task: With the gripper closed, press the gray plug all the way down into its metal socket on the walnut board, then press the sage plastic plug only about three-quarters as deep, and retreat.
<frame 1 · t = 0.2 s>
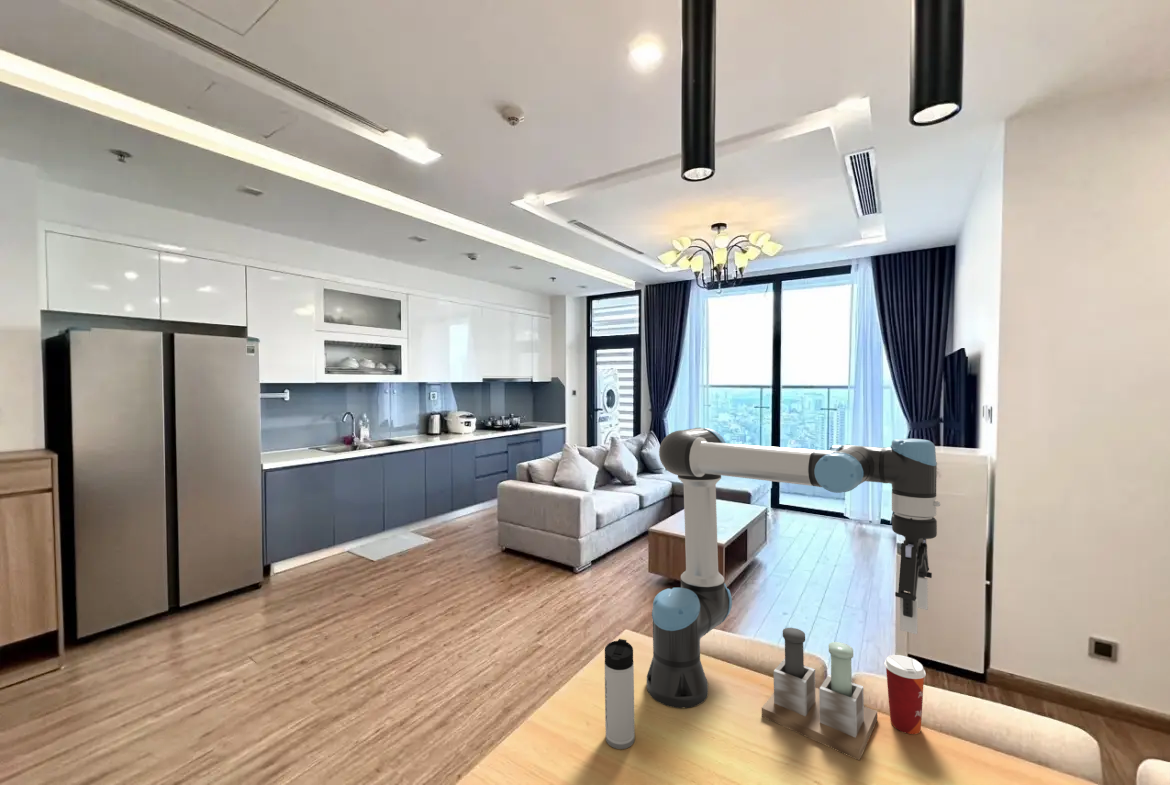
hand: (914, 619, 98), 28 cm above the table, fingers open, 13 cm apart
gray plug: (794, 656, 112), point 13 cm above the table, slide at 0.0 cm
socket board: (819, 718, 109), on the table
paper cup: (905, 726, 107), on the table
travel mug: (620, 739, 104), on the table
sage plug: (841, 673, 105), point 13 cm above the table, slide at 0.0 cm
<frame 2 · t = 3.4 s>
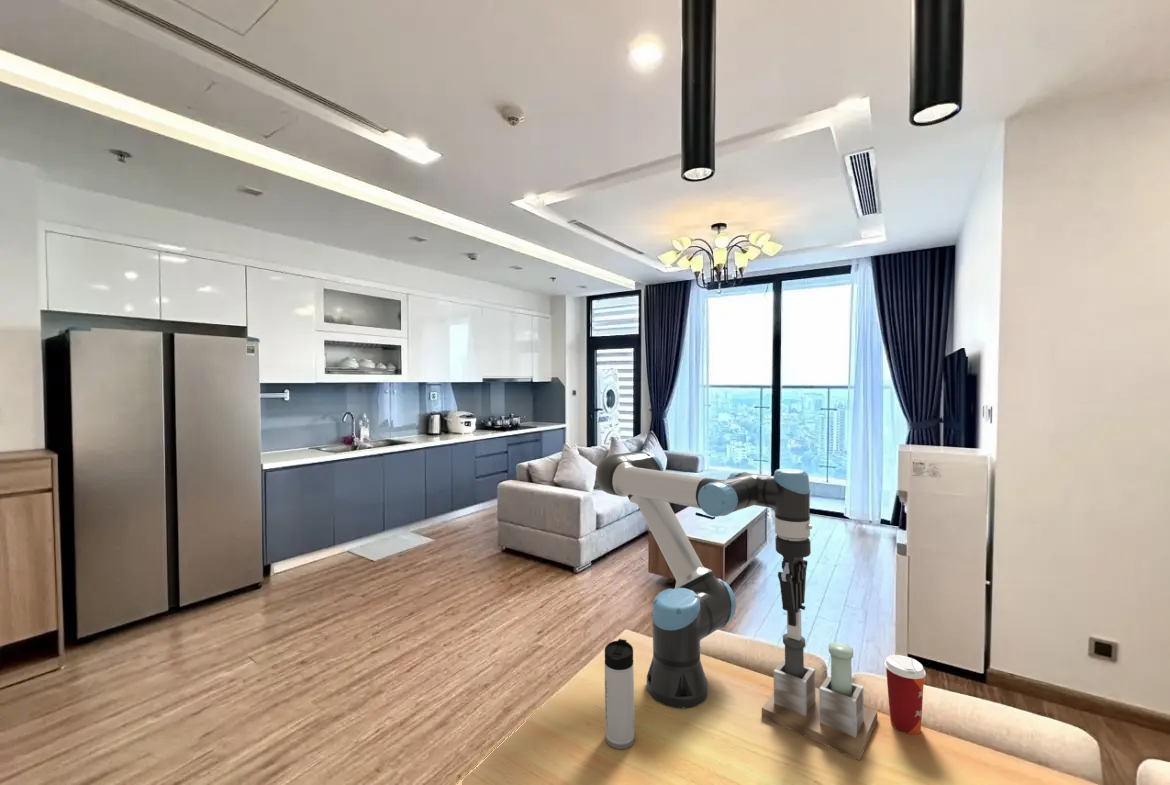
hand: (794, 637, 112), 17 cm above the table, fingers closed
gray plug: (794, 662, 112), point 11 cm above the table, slide at 1.3 cm, touching gripper
everything else where it was.
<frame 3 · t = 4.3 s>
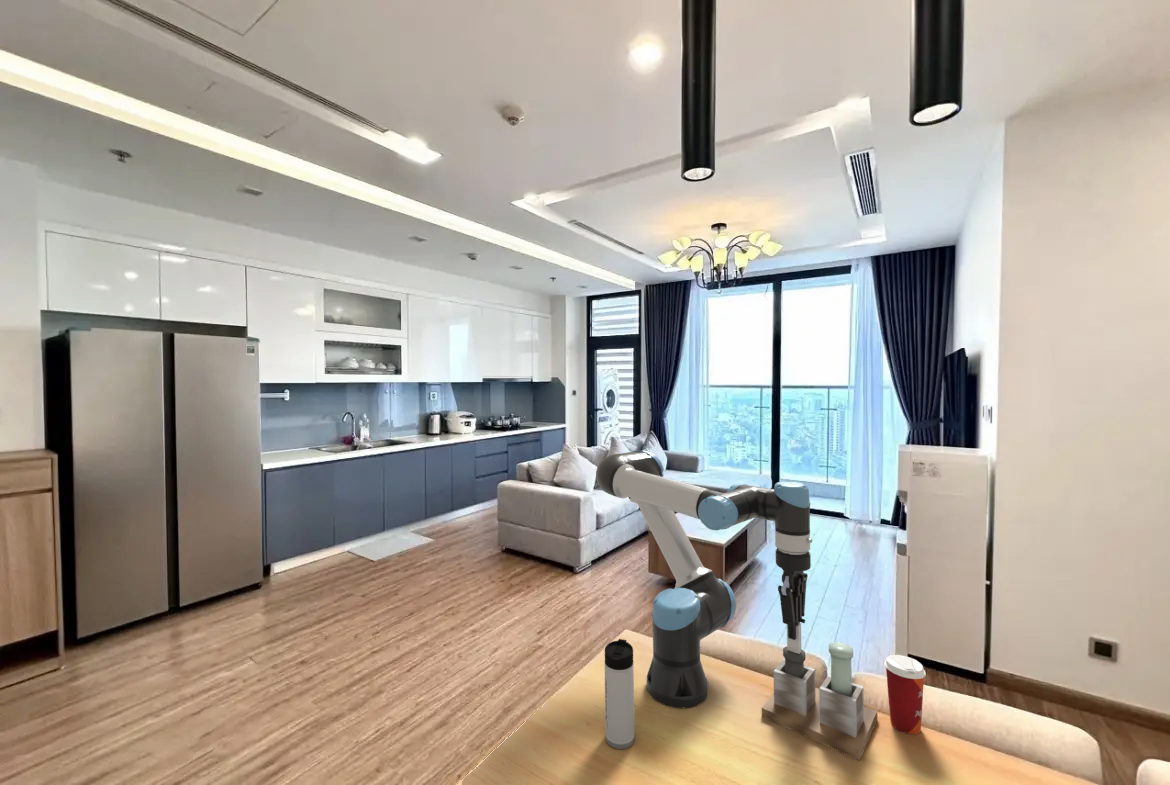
hand: (794, 650, 112), 14 cm above the table, fingers closed
gray plug: (794, 675, 112), point 8 cm above the table, slide at 4.4 cm, touching gripper
everything else where it was.
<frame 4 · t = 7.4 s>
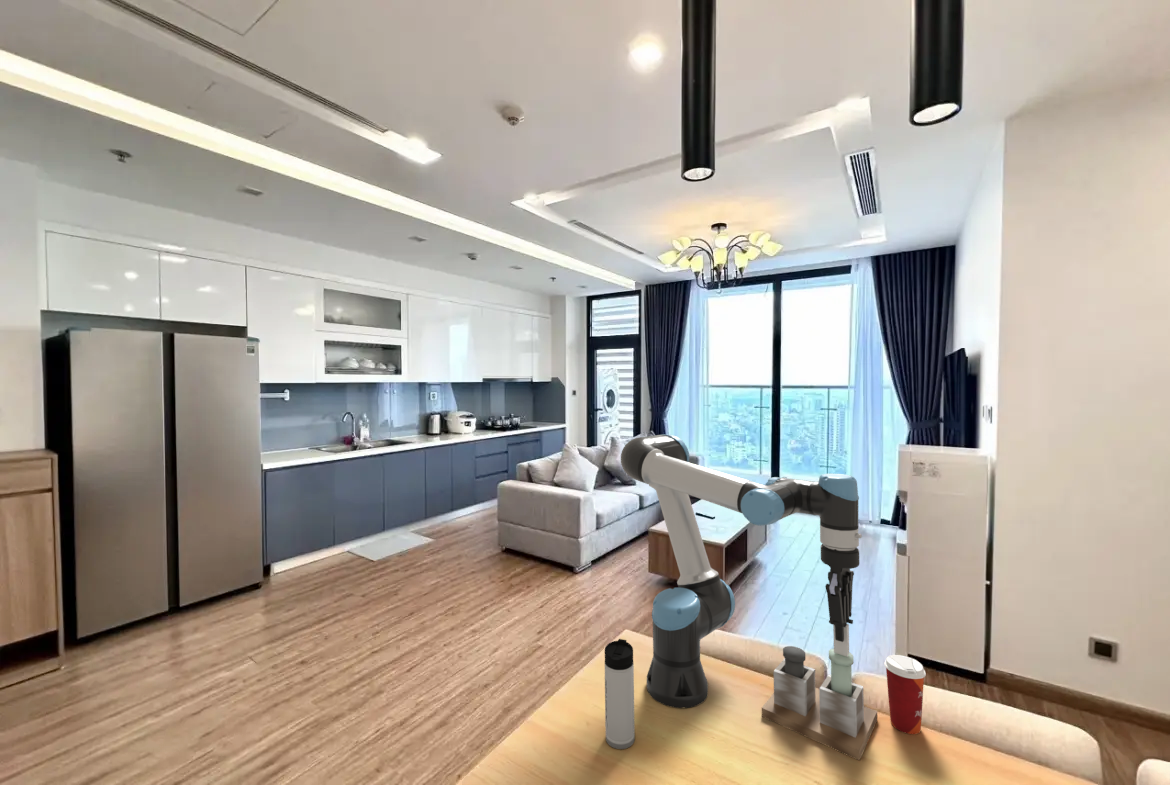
hand: (841, 653, 105), 17 cm above the table, fingers closed
gray plug: (794, 675, 112), point 8 cm above the table, slide at 4.4 cm
sage plug: (841, 679, 105), point 11 cm above the table, slide at 1.4 cm, touching gripper
everything else where it was.
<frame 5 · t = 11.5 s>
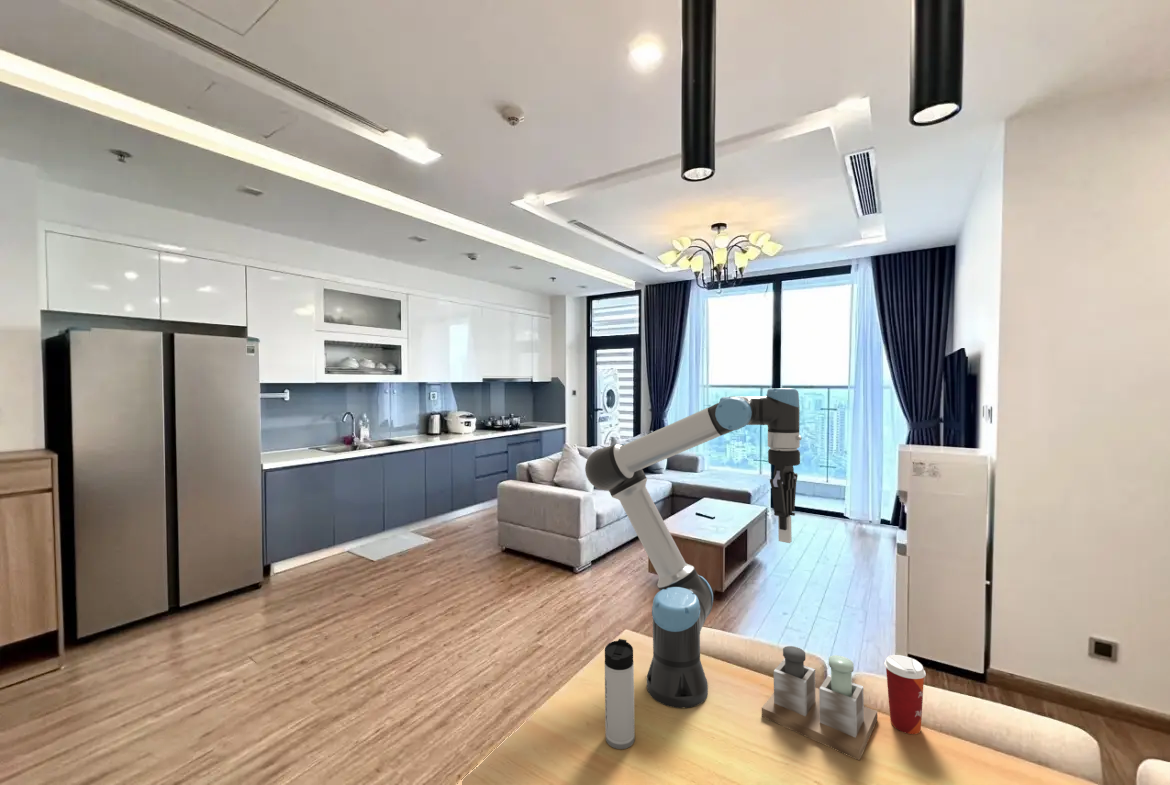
hand: (785, 541, 122), 36 cm above the table, fingers closed
sage plug: (841, 686, 105), point 10 cm above the table, slide at 3.0 cm
everything else where it was.
at the end: gray plug slide at 4.4 cm; sage plug slide at 3.0 cm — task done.
